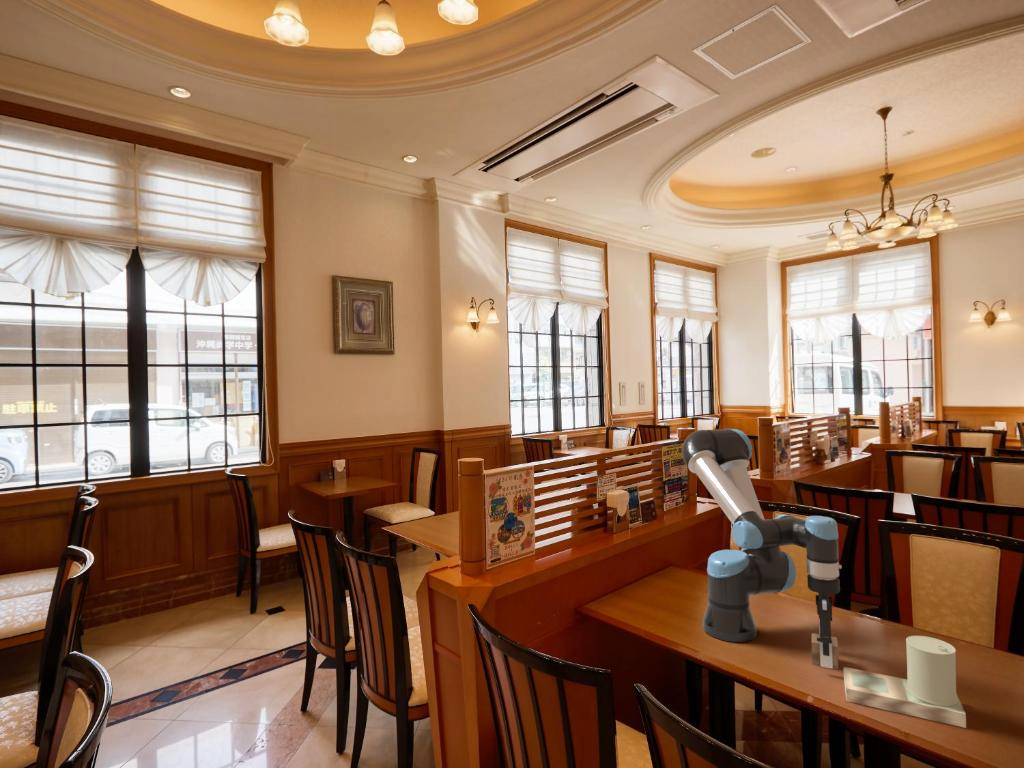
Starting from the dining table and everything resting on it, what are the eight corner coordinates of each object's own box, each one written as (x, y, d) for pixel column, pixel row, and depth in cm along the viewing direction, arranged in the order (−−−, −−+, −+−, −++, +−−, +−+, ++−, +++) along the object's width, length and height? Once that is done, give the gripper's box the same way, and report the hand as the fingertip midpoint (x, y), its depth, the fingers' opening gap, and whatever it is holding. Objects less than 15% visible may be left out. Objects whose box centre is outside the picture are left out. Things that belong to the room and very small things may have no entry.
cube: (812, 664, 144) (811, 642, 144) (812, 654, 150) (811, 633, 150) (838, 670, 141) (837, 647, 141) (837, 659, 147) (836, 637, 147)
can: (942, 710, 118) (941, 655, 118) (897, 689, 126) (896, 638, 127) (966, 700, 122) (965, 646, 122) (921, 680, 130) (920, 630, 130)
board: (846, 701, 127) (846, 688, 127) (843, 678, 137) (843, 666, 137) (966, 727, 117) (965, 713, 117) (954, 701, 126) (953, 688, 126)
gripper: (841, 593, 133) (844, 680, 132) (837, 564, 155) (839, 639, 154) (807, 588, 137) (809, 673, 136) (807, 561, 158) (809, 634, 158)
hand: (825, 655), depth 145 cm, fingers open, 13 cm apart
